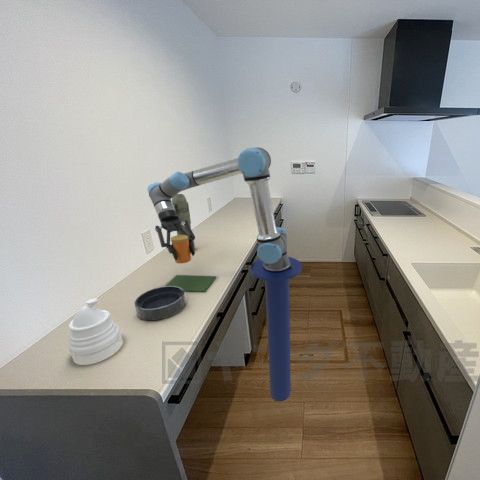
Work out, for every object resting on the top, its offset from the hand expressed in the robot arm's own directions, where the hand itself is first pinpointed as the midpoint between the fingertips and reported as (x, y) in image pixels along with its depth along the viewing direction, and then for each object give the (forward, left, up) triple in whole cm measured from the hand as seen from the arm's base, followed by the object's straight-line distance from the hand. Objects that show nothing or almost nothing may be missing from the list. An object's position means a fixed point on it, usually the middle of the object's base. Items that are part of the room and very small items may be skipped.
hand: (185, 256), depth 116 cm
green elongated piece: (+22, -44, -17) cm, 52 cm away
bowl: (+4, +15, -17) cm, 23 cm away
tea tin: (+3, -2, -3) cm, 5 cm away
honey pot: (+12, +38, -17) cm, 44 cm away
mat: (+2, -5, -17) cm, 17 cm away
